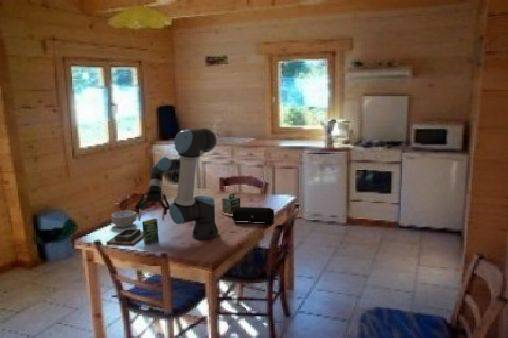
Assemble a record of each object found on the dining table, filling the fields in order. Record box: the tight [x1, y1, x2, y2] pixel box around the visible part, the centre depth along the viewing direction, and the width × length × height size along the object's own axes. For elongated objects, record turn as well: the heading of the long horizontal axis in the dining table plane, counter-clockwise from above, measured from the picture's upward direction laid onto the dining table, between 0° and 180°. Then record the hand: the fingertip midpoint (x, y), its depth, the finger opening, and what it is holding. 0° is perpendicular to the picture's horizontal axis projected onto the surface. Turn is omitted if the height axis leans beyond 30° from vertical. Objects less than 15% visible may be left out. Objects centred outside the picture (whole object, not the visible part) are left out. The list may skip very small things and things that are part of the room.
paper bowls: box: [110, 210, 137, 228], centre depth 277 cm, size 15×15×8 cm
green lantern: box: [221, 192, 241, 214], centre depth 298 cm, size 9×9×15 cm
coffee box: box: [141, 218, 160, 245], centre depth 243 cm, size 8×3×13 cm, turn 125°
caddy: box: [106, 228, 144, 247], centre depth 251 cm, size 16×21×4 cm
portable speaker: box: [232, 206, 275, 225], centre depth 279 cm, size 26×10×10 cm, turn 81°
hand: (151, 219), depth 249 cm, fingers open, 13 cm apart
